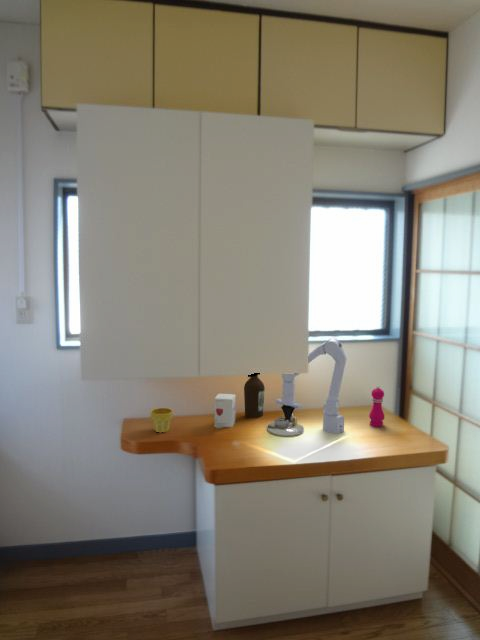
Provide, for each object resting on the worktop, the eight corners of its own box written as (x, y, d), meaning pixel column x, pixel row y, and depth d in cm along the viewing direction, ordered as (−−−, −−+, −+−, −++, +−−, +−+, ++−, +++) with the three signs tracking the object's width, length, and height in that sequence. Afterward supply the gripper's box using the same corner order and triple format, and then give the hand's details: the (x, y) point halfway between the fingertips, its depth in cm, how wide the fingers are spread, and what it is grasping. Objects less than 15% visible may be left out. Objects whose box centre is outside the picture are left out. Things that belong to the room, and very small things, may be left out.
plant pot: (177, 429, 222) (177, 409, 221) (164, 436, 213) (164, 415, 212) (159, 425, 227) (158, 406, 225) (146, 432, 217) (146, 412, 216)
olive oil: (240, 418, 238) (240, 370, 235) (248, 412, 248) (248, 366, 245) (259, 421, 234) (260, 372, 231) (267, 415, 244) (267, 368, 241)
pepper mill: (382, 422, 233) (384, 383, 231) (385, 427, 226) (387, 387, 224) (367, 422, 234) (369, 383, 231) (370, 427, 227) (371, 387, 224)
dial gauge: (295, 423, 231) (295, 413, 231) (287, 426, 227) (288, 416, 226) (289, 421, 234) (290, 411, 233) (282, 424, 229) (282, 414, 229)
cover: (290, 426, 220) (290, 418, 220) (282, 429, 216) (282, 421, 215) (280, 423, 225) (280, 415, 224) (271, 426, 220) (271, 418, 220)
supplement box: (213, 428, 224) (213, 398, 222) (217, 422, 232) (218, 393, 231) (232, 429, 222) (232, 399, 220) (235, 423, 231) (235, 394, 229)
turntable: (310, 430, 219) (311, 421, 218) (288, 439, 207) (288, 430, 206) (282, 421, 231) (282, 412, 230) (259, 430, 219) (260, 420, 218)
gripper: (305, 394, 222) (305, 421, 224) (282, 388, 232) (281, 415, 234) (296, 397, 217) (296, 425, 219) (272, 391, 227) (272, 418, 229)
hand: (288, 420), depth 226 cm, fingers closed
